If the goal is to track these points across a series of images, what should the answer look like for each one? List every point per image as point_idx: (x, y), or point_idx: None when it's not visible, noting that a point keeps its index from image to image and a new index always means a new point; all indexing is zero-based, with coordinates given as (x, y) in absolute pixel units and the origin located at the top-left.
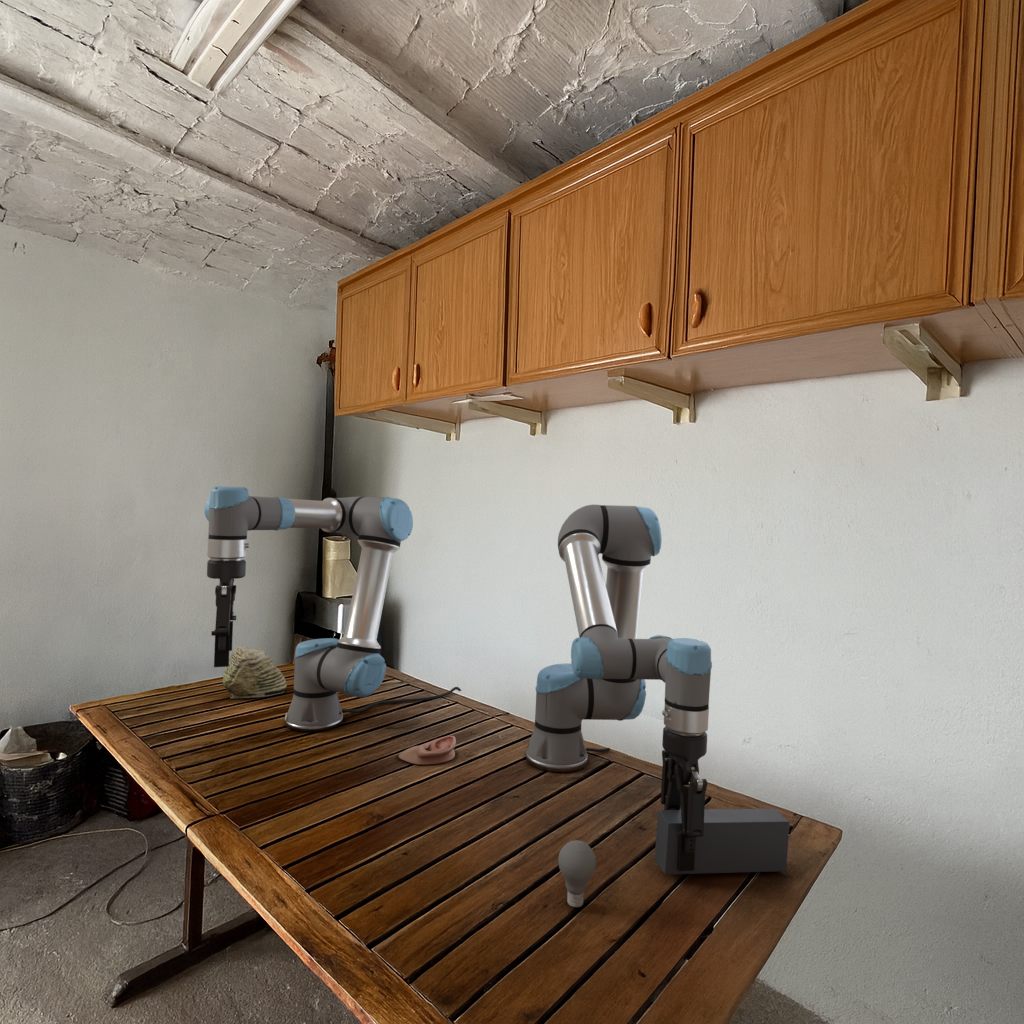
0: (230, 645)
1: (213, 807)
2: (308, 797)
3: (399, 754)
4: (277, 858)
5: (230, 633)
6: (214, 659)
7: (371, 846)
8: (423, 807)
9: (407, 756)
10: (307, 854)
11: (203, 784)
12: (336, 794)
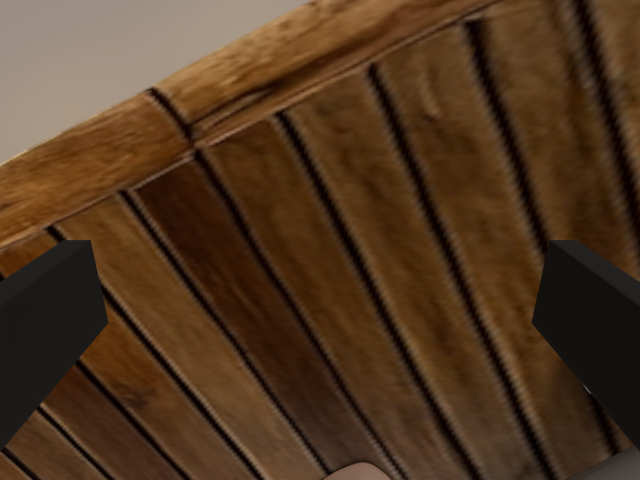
0: (552, 337)
1: (226, 134)
2: (232, 308)
3: (371, 466)
4: (13, 252)
5: (620, 406)
6: (26, 266)
7: None
8: (159, 460)
9: (347, 477)
10: None
11: (353, 102)
12: (234, 352)
